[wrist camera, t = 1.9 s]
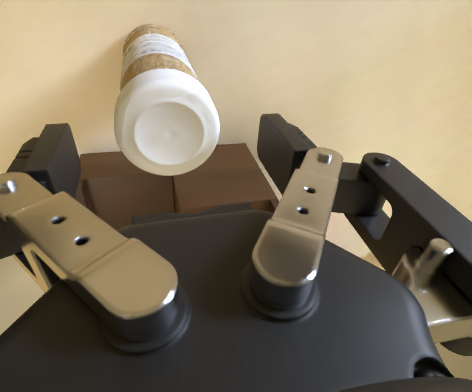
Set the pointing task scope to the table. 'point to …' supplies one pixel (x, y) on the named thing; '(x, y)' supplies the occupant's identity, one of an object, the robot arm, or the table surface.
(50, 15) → the table surface
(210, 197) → the shelf
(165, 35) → the sprinkles bottle
